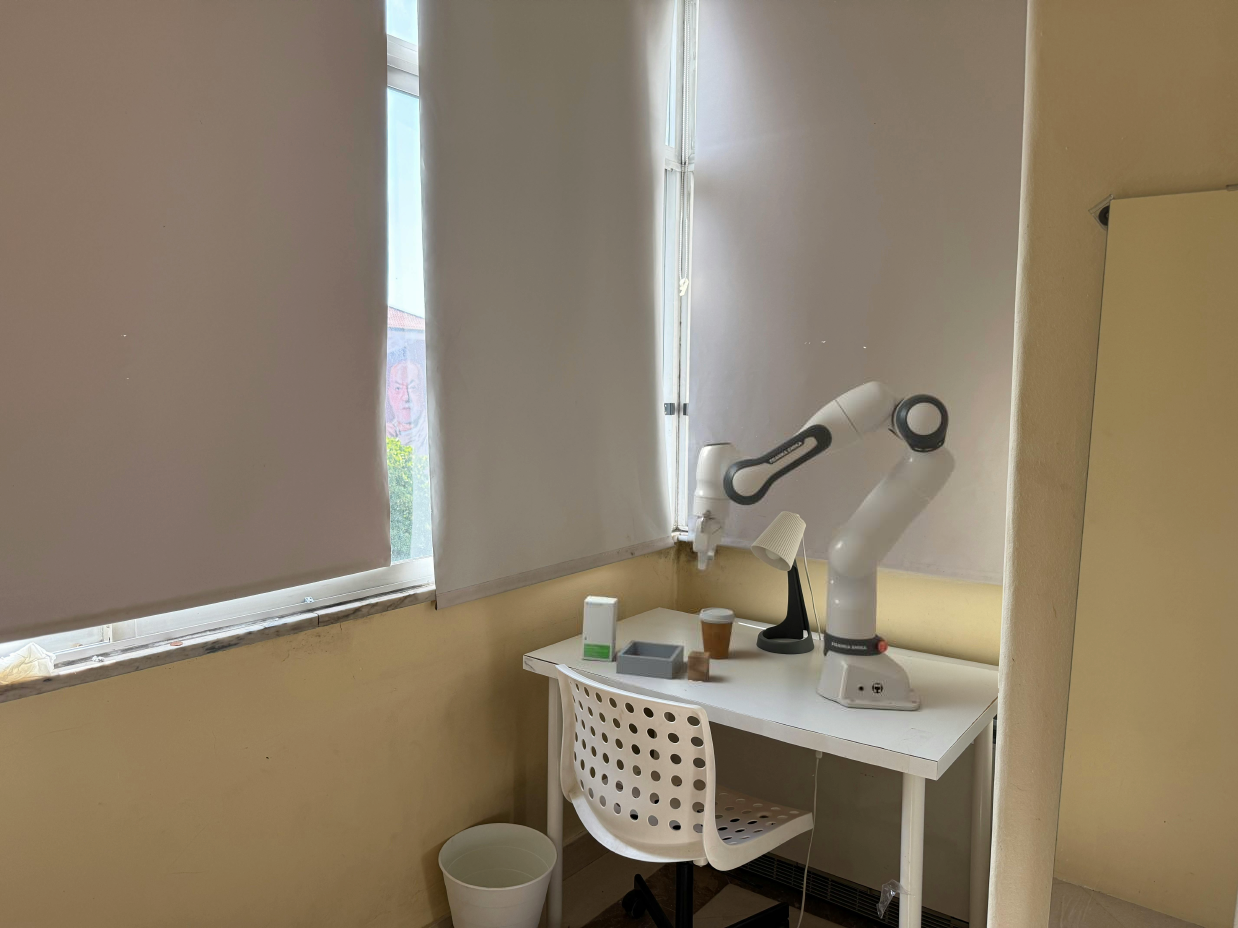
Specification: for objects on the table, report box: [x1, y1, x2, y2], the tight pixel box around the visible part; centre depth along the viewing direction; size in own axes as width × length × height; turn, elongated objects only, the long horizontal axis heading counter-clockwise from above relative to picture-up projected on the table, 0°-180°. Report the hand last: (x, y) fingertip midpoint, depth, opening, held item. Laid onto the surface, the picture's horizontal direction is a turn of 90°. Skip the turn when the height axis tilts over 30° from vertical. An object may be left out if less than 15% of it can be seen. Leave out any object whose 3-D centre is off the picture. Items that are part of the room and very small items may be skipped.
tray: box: [615, 639, 685, 680], centre depth 192 cm, size 14×14×4 cm
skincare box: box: [581, 595, 619, 663], centre depth 200 cm, size 8×7×16 cm
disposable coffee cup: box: [698, 607, 736, 660], centre depth 203 cm, size 10×10×12 cm
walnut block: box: [687, 650, 711, 683], centre depth 184 cm, size 4×4×6 cm
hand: (705, 565), depth 183 cm, fingers open, 8 cm apart
